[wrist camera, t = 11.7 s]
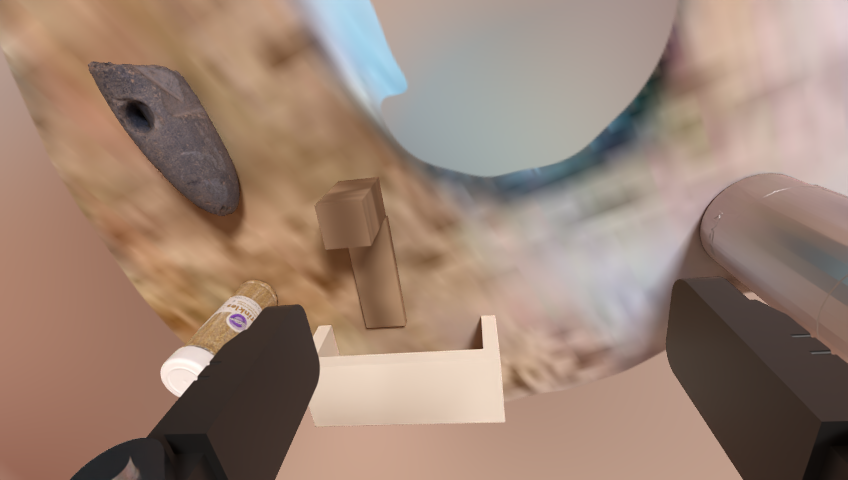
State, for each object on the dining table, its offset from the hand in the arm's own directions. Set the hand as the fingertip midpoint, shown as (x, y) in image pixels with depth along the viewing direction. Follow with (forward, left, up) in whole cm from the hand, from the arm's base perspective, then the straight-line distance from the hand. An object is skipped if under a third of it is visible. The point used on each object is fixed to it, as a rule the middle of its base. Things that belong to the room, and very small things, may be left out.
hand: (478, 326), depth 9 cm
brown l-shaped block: (+11, +12, -30) cm, 34 cm away
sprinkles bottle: (+25, +16, -30) cm, 42 cm away
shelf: (+9, +24, -30) cm, 40 cm away
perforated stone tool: (+25, -2, -30) cm, 39 cm away
